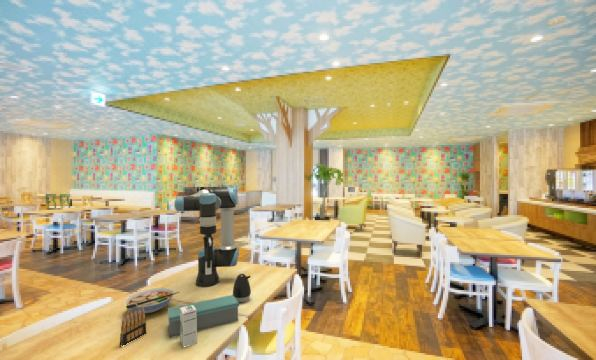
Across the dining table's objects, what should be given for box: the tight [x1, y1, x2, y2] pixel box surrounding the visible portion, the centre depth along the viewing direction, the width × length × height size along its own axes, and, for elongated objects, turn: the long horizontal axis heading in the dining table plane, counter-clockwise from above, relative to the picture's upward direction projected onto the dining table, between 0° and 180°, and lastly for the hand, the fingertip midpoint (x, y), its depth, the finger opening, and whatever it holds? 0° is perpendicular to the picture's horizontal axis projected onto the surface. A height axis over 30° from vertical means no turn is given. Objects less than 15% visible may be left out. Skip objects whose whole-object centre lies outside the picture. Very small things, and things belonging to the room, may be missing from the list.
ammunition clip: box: [119, 308, 147, 346], centre depth 116 cm, size 11×2×12 cm, turn 157°
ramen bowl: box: [125, 287, 180, 314], centre depth 142 cm, size 25×23×8 cm
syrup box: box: [179, 305, 198, 348], centre depth 113 cm, size 6×6×14 cm
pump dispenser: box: [232, 273, 252, 303], centre depth 153 cm, size 10×10×15 cm
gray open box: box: [168, 307, 239, 338], centre depth 129 cm, size 12×30×7 cm, turn 118°
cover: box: [167, 294, 240, 323], centre depth 129 cm, size 13×31×2 cm, turn 118°
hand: (208, 273), depth 129 cm, fingers closed
